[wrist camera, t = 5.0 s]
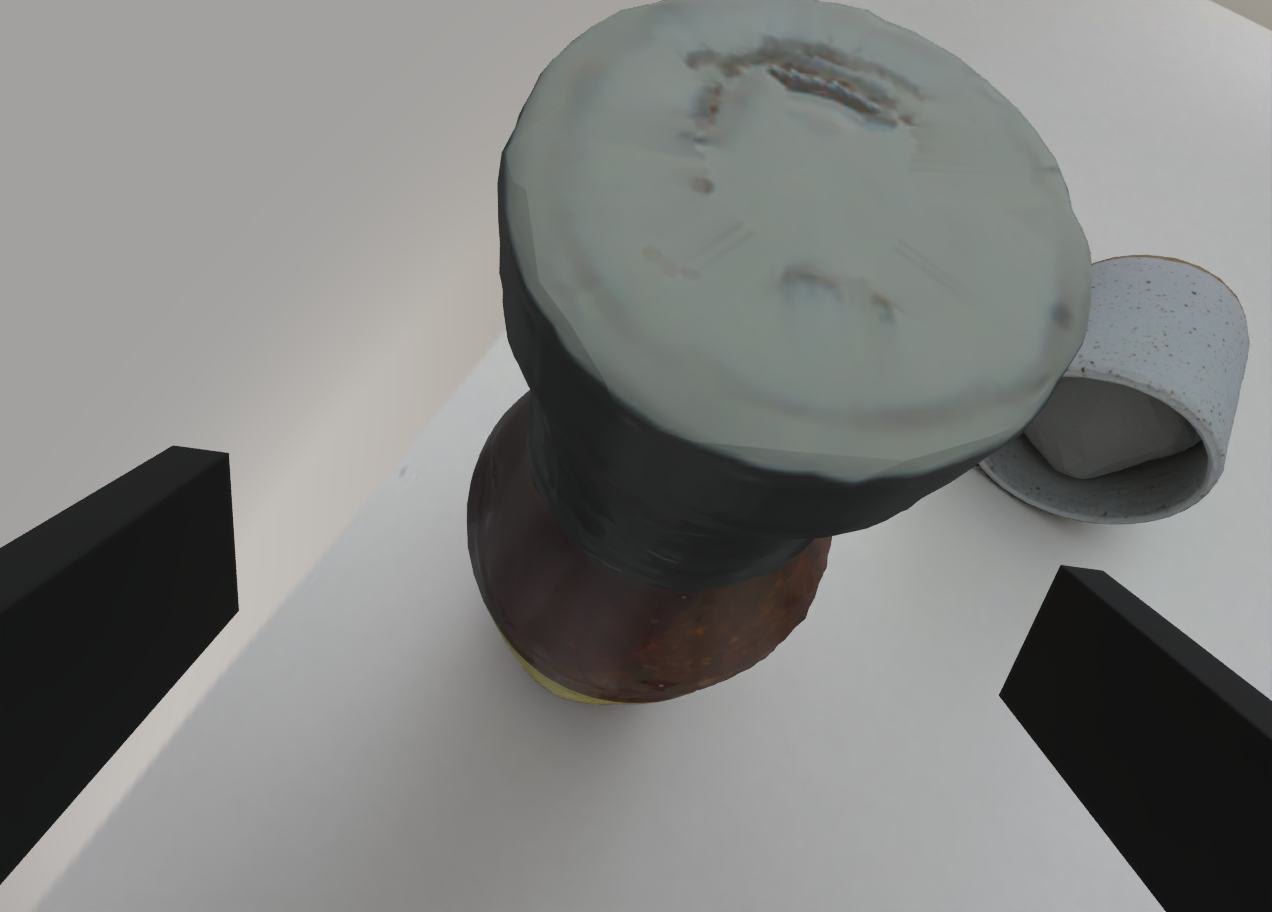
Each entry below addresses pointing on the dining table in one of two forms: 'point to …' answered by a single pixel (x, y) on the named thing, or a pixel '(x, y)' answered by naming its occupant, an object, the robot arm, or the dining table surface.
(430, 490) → the dining table surface
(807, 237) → the sauce bottle
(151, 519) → the robot arm
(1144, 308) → the ceramic mug
